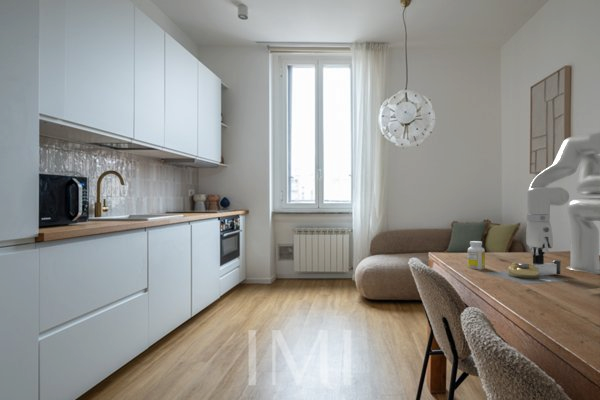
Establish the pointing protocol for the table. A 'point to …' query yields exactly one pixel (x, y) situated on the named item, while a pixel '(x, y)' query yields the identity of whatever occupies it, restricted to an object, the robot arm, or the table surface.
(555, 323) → the table surface
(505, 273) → the base plate
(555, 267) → the multicoloured piece
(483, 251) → the supplement bottle
